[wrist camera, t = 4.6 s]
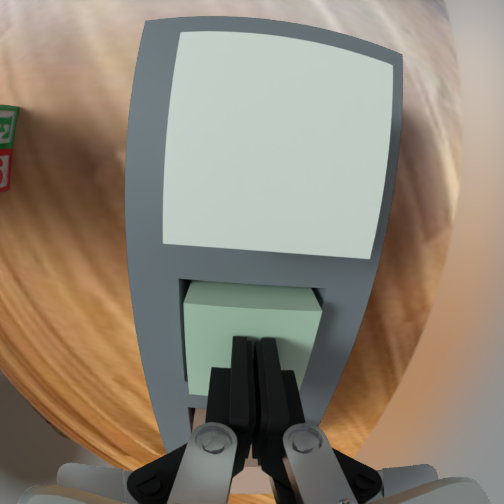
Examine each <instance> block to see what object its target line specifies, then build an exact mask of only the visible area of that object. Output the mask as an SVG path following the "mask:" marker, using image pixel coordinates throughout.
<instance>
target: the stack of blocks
mask: <svg viewBox="0 0 504 504" xmlns="http://www.w3.org/2000/svg"><path fill="white" fill-rule="evenodd" d="M18 110H19V107H17V106H10V105H0V192H4V191H7V190H9V185H10V168H11V156H12V144H13V137H14V131H15V125H16V120H17V114H18Z"/></svg>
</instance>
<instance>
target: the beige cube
mask: <svg viewBox="0 0 504 504" xmlns="http://www.w3.org/2000/svg"><path fill="white" fill-rule="evenodd" d="M205 418H206V409H202V408H195V415H194V422H193V429H192V432H193V430H194V429H195V428H196V427H198V426H199V425H202V424H204V423H205ZM230 493H235V494H263V493H273V491H272V488H271V484H270V481H269V475H268V474H266V473H265V472H263V471H262V470H261V466H258V461H257V459H252V445H251V447H250V452H249V457H248V459H245V464H244V469H243V471H241V472H240V473H239V474H237V475H236V476H235V477H233V480H232V485H231V490H230Z"/></svg>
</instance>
